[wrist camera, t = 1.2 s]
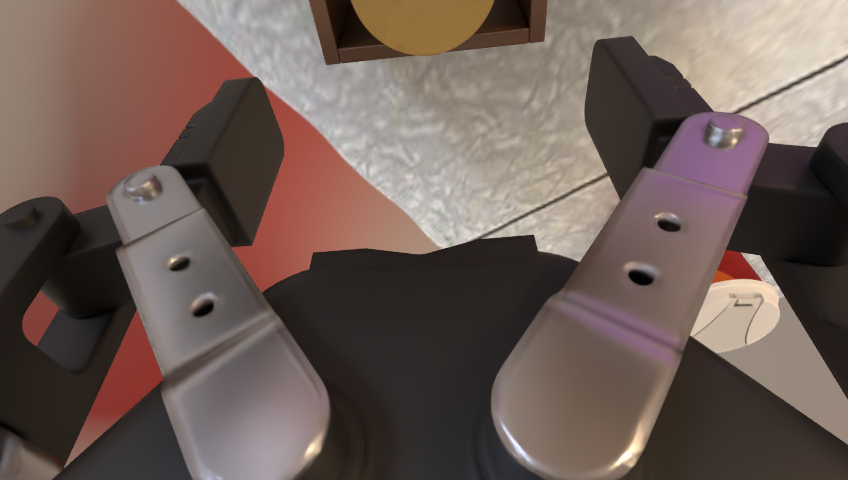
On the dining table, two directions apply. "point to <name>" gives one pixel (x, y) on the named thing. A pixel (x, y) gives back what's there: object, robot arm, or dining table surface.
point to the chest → (351, 42)
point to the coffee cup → (736, 307)
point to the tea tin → (422, 23)
